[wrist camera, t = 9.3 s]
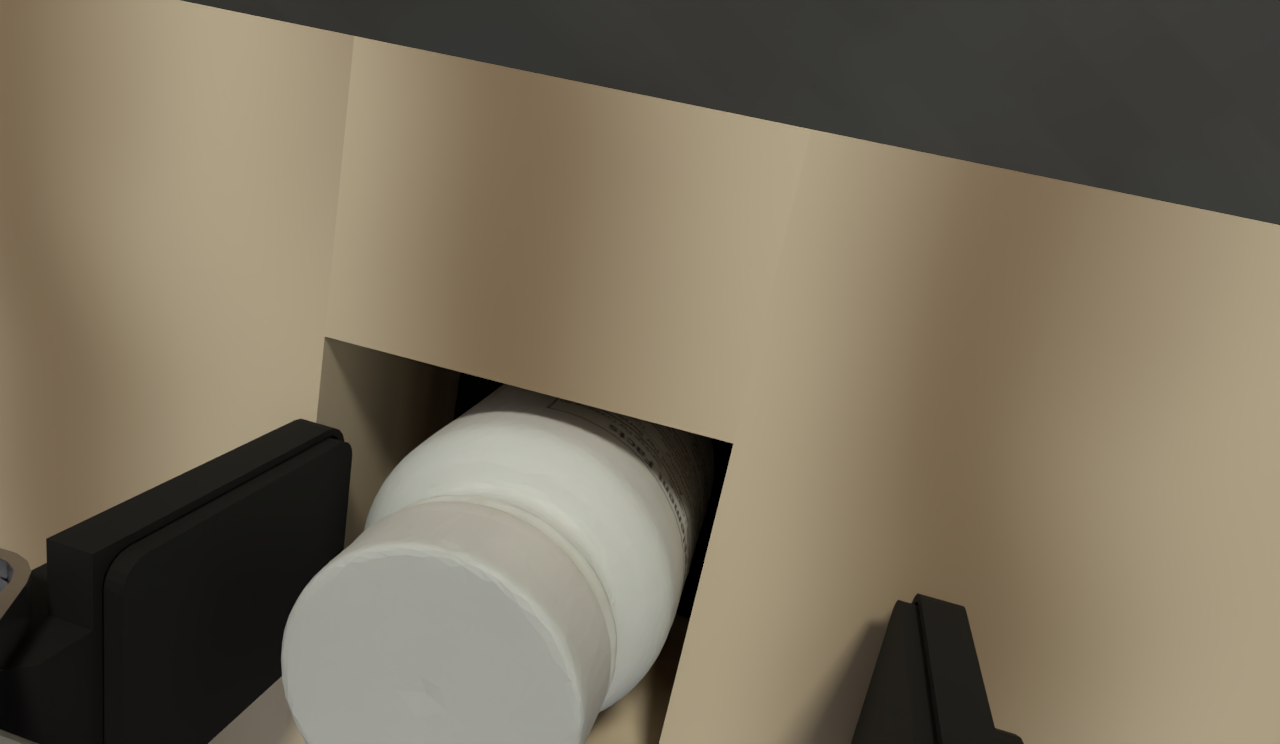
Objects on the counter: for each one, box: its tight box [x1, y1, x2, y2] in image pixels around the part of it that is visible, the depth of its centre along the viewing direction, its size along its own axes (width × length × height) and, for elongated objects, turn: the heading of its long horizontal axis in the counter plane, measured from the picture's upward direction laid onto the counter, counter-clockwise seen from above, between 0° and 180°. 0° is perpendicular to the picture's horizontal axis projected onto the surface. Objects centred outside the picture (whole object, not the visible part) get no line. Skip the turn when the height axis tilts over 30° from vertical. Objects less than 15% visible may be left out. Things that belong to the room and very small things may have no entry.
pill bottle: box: [281, 384, 715, 744], centre depth 12 cm, size 4×4×8 cm
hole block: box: [0, 0, 1280, 744], centre depth 14 cm, size 20×13×5 cm, turn 78°
